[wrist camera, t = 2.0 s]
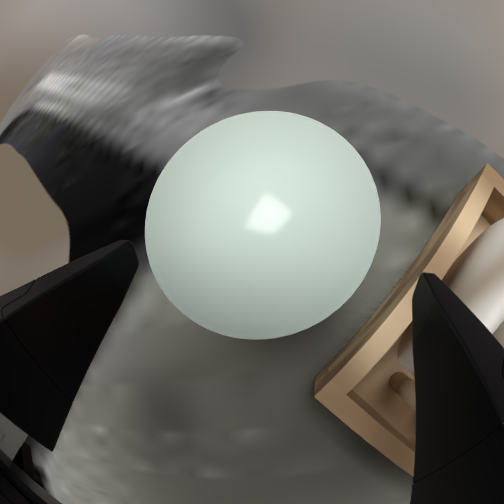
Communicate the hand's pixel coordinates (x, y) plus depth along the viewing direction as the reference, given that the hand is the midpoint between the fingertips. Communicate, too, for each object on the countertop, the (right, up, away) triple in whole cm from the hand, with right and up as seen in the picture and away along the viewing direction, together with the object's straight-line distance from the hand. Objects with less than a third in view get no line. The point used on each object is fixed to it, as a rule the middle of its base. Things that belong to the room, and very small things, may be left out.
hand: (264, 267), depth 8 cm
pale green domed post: (+2, -1, +9) cm, 9 cm away
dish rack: (+15, -7, +4) cm, 17 cm away
